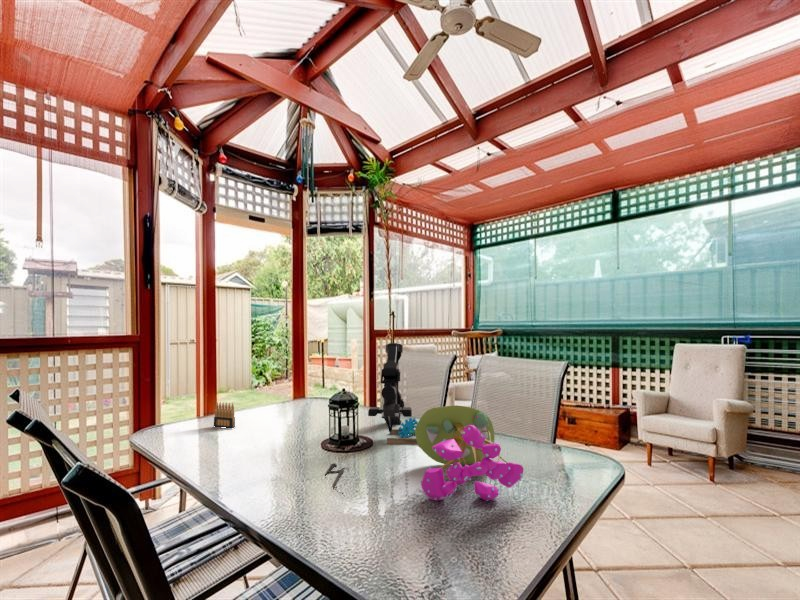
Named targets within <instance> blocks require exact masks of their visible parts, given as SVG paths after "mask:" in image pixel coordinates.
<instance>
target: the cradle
mask: <svg viewBox="0 0 800 600" xmlns="http://www.w3.org/2000/svg"><path fill="white" fill-rule="evenodd" d="M399 431H400V430H399V428H398V429H397V428H396V429H395V428H392V431H391V432H389V435H399V434H398V433H399ZM400 432H402V430H401V431H400ZM386 444H390V445H392V444H394V445H418V444H417V440H416V437H415V438H414V437H413V438H412V437H409V438H408V437H407V438H404V437H403V438H401V437H399V438H398V437H387V438H386Z"/></svg>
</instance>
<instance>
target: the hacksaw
mask: <svg viewBox="0 0 800 600" xmlns="http://www.w3.org/2000/svg"><path fill="white" fill-rule="evenodd" d="M337 466H338V465H337V463H335V462H333V463H331V464H330V466H329V468H328V469H327V470H326V473H324V474H325V476H326V475H327V473H328V474H337V473H336V472H338V474H337V476H336V478H335V480H334V482H333V484H332V486H331V488H332V487H333V490H334V491H335V490H336V491H337V488H338V486H337V484H338V483H339V481H340V479H341V478H342V476H343V475H344V472H345V471H344V469H345V470H346V467H343V468H341V469H338V470H334V469H335V468H334V467H336V468H337ZM333 468H334V469H333ZM332 469H333V470H332ZM347 469H348V470H350V467H347ZM331 470H332V471H331ZM330 472H331V473H330ZM341 475H342V476H341ZM340 477H341V478H340ZM339 478H340V479H339ZM337 482H338V483H337ZM335 486H336V487H335ZM335 488H336V489H335ZM341 493H342V494H344V493H343V492H341ZM342 494H341V495H342Z"/></svg>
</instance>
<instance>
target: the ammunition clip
mask: <svg viewBox="0 0 800 600" xmlns="http://www.w3.org/2000/svg"><path fill="white" fill-rule="evenodd" d="M214 426H215V427H226V428H234V427H235V428H236V417H235V405H234V403H233V402H232V403H230V402H229V403H228V402H226V403H225V402H222V403H221V401H220V402H218V401H217V402H216V404H215V410H214V416H213V427H214ZM235 428H234V429H235Z"/></svg>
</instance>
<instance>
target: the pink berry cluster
mask: <svg viewBox="0 0 800 600" xmlns="http://www.w3.org/2000/svg"><path fill="white" fill-rule="evenodd" d="M417 422H418V424H417V426H416V425H415V426H416V428H414V430H415V434H416V436H415V438H416V440H417V444H416V445H417V446H418V447H419V449H421V451H422V452H424V454H426V455H427V457H429V458H431V460H433V461H435V462H437V463H440V464H442V466H440V467H434V468H433V467H429V468H427V469H426V470H425V471H424V474H423V477H422V478H421V480H420V486H421V489H422V490H423V492H424V494H425V495H426V496H427V497H428V498H429V499H430V500H433V501H436V502H438V501H439V502H440V501H442V500H443V501H444V500H445V499H446V498H447V496H448V498H451V497H452V495H454V493H455V492H456V491H457V487H458V485H460V486H462V485H463V486H464V485H466V482H467V481H471V480H472V477H481V479H482V480H481V481H479V480H475V481H474V493H475V495H477V496H478V497H479V498H480V499H482V500H483V501H486V502H489V501H493V500H497V497H498V496H499V492H500V489H499V488H498V487H497V486H496V485H493V484H490V483H486V482H485V481H484V475H485V476H486V477H487V478H489V479H491V480H492V481H498V483H500V485H502V486H505V487H506V488H509V489H510V488H512V487H514V485H516V484H517V482H519V481H522V478H523V477H524V466H522V464H518V463H516V462H507V461H506V460H505V459H503V457H501V451H502V447H501V445H500V444H499V443H498V442H495V428H494V426H493V422H492V420H491V419H490V418H489V416H487V414H485V412H483V411H482V410H479V409H476V408H473V407H470V406H464V405H445V406H437V407H431V408H430V409H427V410H426V411H425V412H424V413H423V414H422V415H421V416H420V419H419V420H418V421H417ZM495 458H497V460H493V459H495ZM500 460H502V461H500ZM463 465H464V466H463ZM448 466H450V467H448ZM447 467H448V468H447ZM445 468H447V469H445ZM444 472H446V473H445V474H446V475H447V478H448V480H447V481H445V475H444Z"/></svg>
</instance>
